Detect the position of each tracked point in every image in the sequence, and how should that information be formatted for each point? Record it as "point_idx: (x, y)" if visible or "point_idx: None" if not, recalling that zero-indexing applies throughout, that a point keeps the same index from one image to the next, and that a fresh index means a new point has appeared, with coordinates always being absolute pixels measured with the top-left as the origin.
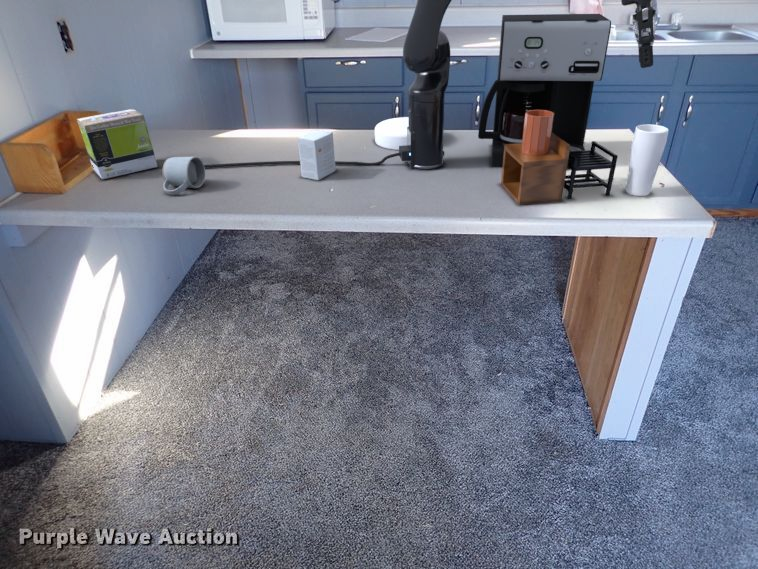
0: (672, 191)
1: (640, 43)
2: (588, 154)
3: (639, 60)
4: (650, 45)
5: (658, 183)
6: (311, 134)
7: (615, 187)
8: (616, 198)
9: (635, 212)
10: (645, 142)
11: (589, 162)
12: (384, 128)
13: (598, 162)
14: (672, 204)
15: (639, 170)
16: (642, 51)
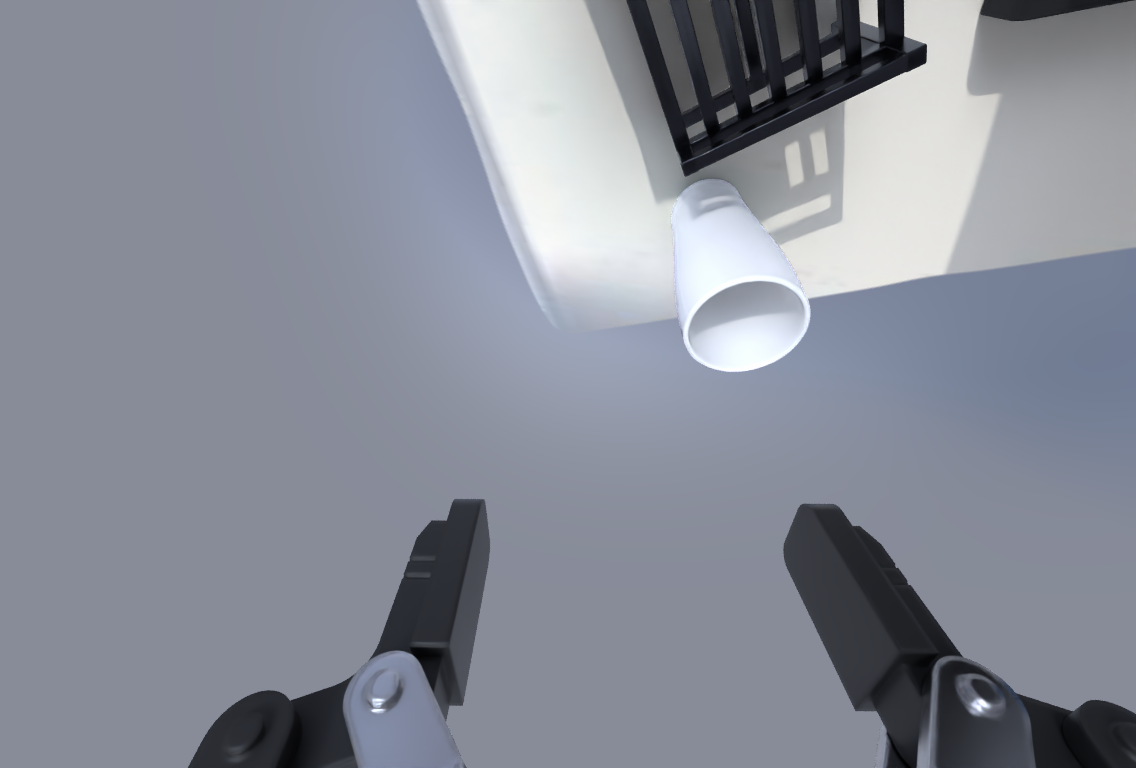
0: None
1: (238, 711)
2: (841, 28)
3: (813, 516)
4: (451, 697)
5: None
6: None
7: (752, 145)
8: (651, 147)
9: (555, 198)
10: (684, 289)
11: (719, 39)
12: None
13: (702, 86)
14: (633, 285)
15: (678, 237)
16: (389, 622)
